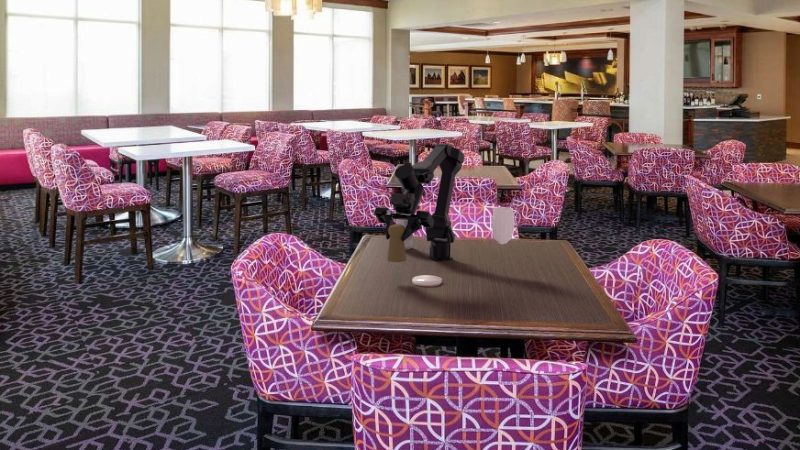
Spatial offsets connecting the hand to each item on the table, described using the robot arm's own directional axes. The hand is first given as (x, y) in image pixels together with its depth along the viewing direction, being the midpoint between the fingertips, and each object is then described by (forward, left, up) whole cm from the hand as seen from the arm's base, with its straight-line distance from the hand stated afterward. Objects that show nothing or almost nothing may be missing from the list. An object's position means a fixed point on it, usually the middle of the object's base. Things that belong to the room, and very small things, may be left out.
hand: (394, 239), depth 203 cm
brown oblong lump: (-1, -1, -7) cm, 7 cm away
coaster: (-9, +5, -13) cm, 17 cm away
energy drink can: (-24, -40, -13) cm, 48 cm away
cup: (-37, +4, -13) cm, 40 cm away
